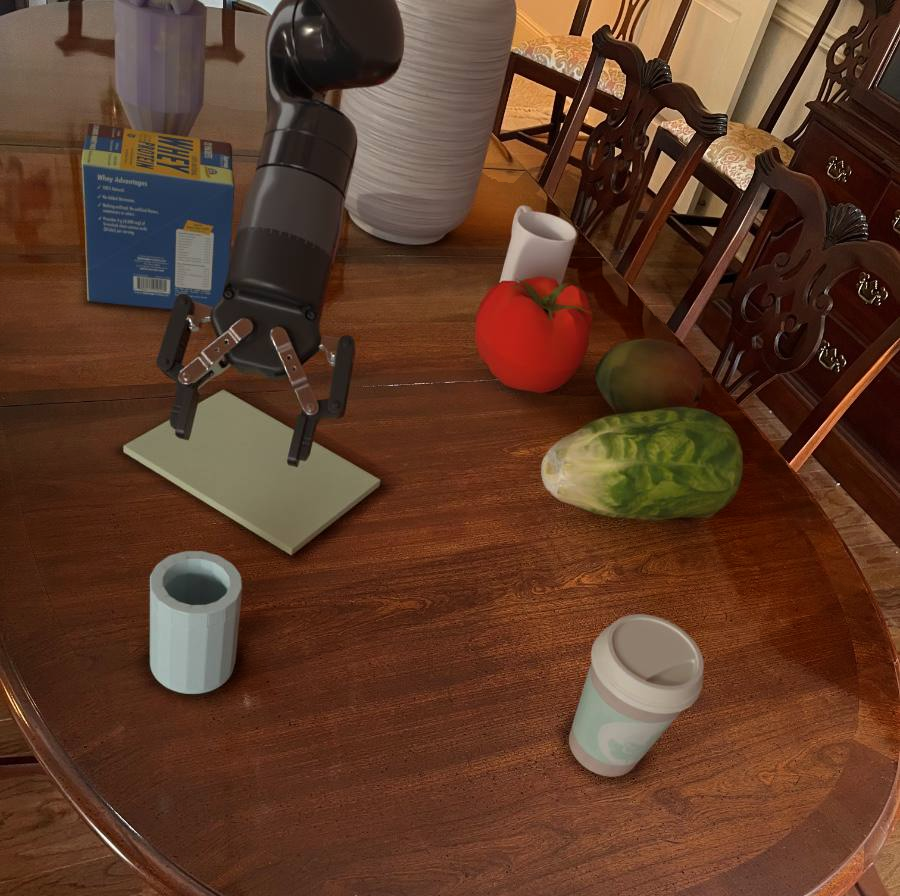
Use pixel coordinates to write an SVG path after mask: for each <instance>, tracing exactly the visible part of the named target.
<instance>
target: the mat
mask: <svg viewBox="0 0 900 896" xmlns="http://www.w3.org/2000/svg"><path fill="white" fill-rule="evenodd" d="M293 432H294V429H293V428H291V427H289V426H287V425H286V424H284V423H283V422H281V421H279V420H277V419H275V418H273V417H272V416H271V415H269V414H267V413H265V412H263V411H262V410H260V409H258V408H256V407H254V406H253V405H251V404H249V403H248V402H246V401H244V400H243V399H240V398H239V397H237V396H235V395H233V394H232V393H230V392H229V391H226V390H225V389H222V390H220V391H218V392H216V393H215V394H213V395H211V396H209V397H208V398H205V399H203V400H202V401H200V402H198V406H197V410H196V414H195V418H194V423H193V427H192V431H191V435H190V438H189V440H184V439H180V438H178V437H177V436H176V435H175V429H174V428H172V427H171V425H170V419H168V420H167V421H165V422H163V423H161V424H159V425H158V426H156V427H154V428H153V429H150V430H148V431H147V432H145V433H143V434H142V435H140V436H138V437H137V438H134V439H133V440H131V441H128V442H127V443H125V444H123V453H124V454H126V455H128V457H131V458H132V459H134V460H135V461H137V462H139V463H140V464H142V465H144V466H145V467H146V468H149V469H151V470H152V471H154V472H155V473H157V474H158V475H160V476H162V477H163V478H165V479H167V480H168V481H169V482H171V483H173V484H175V485H176V486H178V487H180V488H181V489H182V490H184V491H186V492H187V493H189V494H191V495H192V496H194V497H196V498H197V499H199V500H201V501H202V502H204V503H205V504H207V505H208V506H210V507H212V508H213V509H215V510H217V511H219V512H220V513H222V514H223V515H225V516H227V517H228V518H230V519H232V521H235V522H236V523H238V524H239V525H242V526H243V527H245V528H246V529H248V530H249V531H251V532H252V533H255V534H256V535H257V536H259V537H260V538H262V539H264V540H266V541H267V542H269V543H270V544H272V545H274V546H276V547H277V548H278V549H280V550H282V551H284V552H285V553H286V554H289V555H290V556H293V555H294V554H295V553H297V552H298V551H299V550H301V549H302V548H303V547H304V546H305V545H307V544H308V543H309V542H311V541H312V540H313V539H315V537H317V536H318V535H320V534H321V533H322V532H323V531H324V530H326V529H327V528H328V527H329V526H331V525H332V524H333V523H334V522H336V521H338V519H340V518H341V517H342V516H344V515H345V514H346V513H347V512H348V511H350V510H351V509H352V508H353V507H355V506H356V505H357V504H359V503H360V502H361V501H363V499H365V498H367V496H369V495H370V494H371V493H372V492H374V491H375V490H376V489H378V488H379V487H380V485H381V479H380V478H378V477H376V476H374V475H373V474H371V473H369V472H368V471H366V470H364V469H362V468H361V467H359V466H357V465H355V464H353V463H352V462H350V461H349V460H347V459H345V458H343V457H341V456H340V455H339V454H337V453H334V452H333V451H331V450H329V449H328V448H325V447H324V446H322V445H321V444H319V443H317V442H315V441H314V440H313V443H312V448H311V452H310V456H309V457H308V459H307V460H306V461H302V460H300V461H299V465H298V467H294V466H290V465H288V464H287V458H288V453H289V449H290V445H291V441H292V437H293Z"/></svg>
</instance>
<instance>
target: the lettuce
mask: <svg viewBox="0 0 900 896" xmlns="http://www.w3.org/2000/svg"><path fill="white" fill-rule="evenodd" d="M741 446H742V445H741V442H740V440H739V437H738V435H737V434H736V432H735V431H734V429H733V428H732V426H731V424H729V423H728V422H727V421H725V420H724V419H723V418H722V417H720V416H719V415H717V414H715V413H712V412H711V411H708V410H706V409H701V408H696V407H695V408H688V407H673V408H662V409H656V410H651V411H641V412H628V413H620V414H617V413H614V414H611V415H607V416H602V417H600V418H597V419H595V420H592V421H590V422H588V423H586V424H585V425H583V426H582V427H580V428H579V429H577V430H576V431H574V432H572V433H569V434H568V435H565V436H563V437H562V438H560V439H559V440H558V441H556V443H554V444H553V445H551V447H550V448H549V449H548V450H547V451H546V453H545V454H544V456H543V458H542V461H541V466H540V467H541V471H540V475H541V481H542V483H543V486H544V488H545V489H546V490H547V491H548V492H549V494H551V496H553V497H554V498H555V499H556V500H558V501H560V502H561V503H565V504H569V505H572V506H575V507H577V508H580V509H581V510H584V511H585V512H589V513H593V514H597V515H601V516H605V517H611V518H620V519H634V520H640V521H647V522H655V521H656V522H657V521H666V520H675V519H681V518H682V519H695V520H696V519H710V518H711V517H713V516H714V515H715V514H716V513H718V512H719V511H721V510H722V509H723V508H725V507H726V506H727V505H728V504H730V503H731V502H732V500H733V499H734V497H735V496H736V494H737V492H738V491H739V489H740V485H741V482H742V481H741V480H742V476H743V472H744V464H743V463H744V462H743V461H744V460H743V458H744V456H743V455H744V454H743V450H742V447H741Z"/></svg>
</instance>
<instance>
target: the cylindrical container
mask: <svg viewBox="0 0 900 896" xmlns="http://www.w3.org/2000/svg"><path fill="white" fill-rule="evenodd" d="M242 595H243V581H242V576H241V573H240V572H239V571H238V569H237V568H236V567H235V565H234V564H233V563H231V562H230V561H228V560H227V559H225V558H224V557H222V556H221V555H219V554H215V553H211V552H207V551H204V550H191V551H190V550H186V551H181V552H177V553H173V554H170V555H168V556H167V557H165V558H163V559H162V560H160V562H158V563H157V564H156V565H155V567H154V568H153V570H152V572H151V574H150V576H149V667H150V671H151V673H152V675H153V676H154V678H155V679H156V680H157V682H159V684H161V685H162V686H163V687H165V688H166V689H168V690H171V691H173V692H176V693H180V694H185V695H186V694H187V695H198V694H199V695H200V694H205V693H209V692H212V691H214V690H216V689H219V688H220V687H221V686H223V685H224V684H225V683H226V682H227V681H228V680H229V679H230V677H231V676H232V673H233V672H234V668H235V665H236V658H237V648H238V638H239V628H240V627H239V626H240V615H241V604H242Z"/></svg>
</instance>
